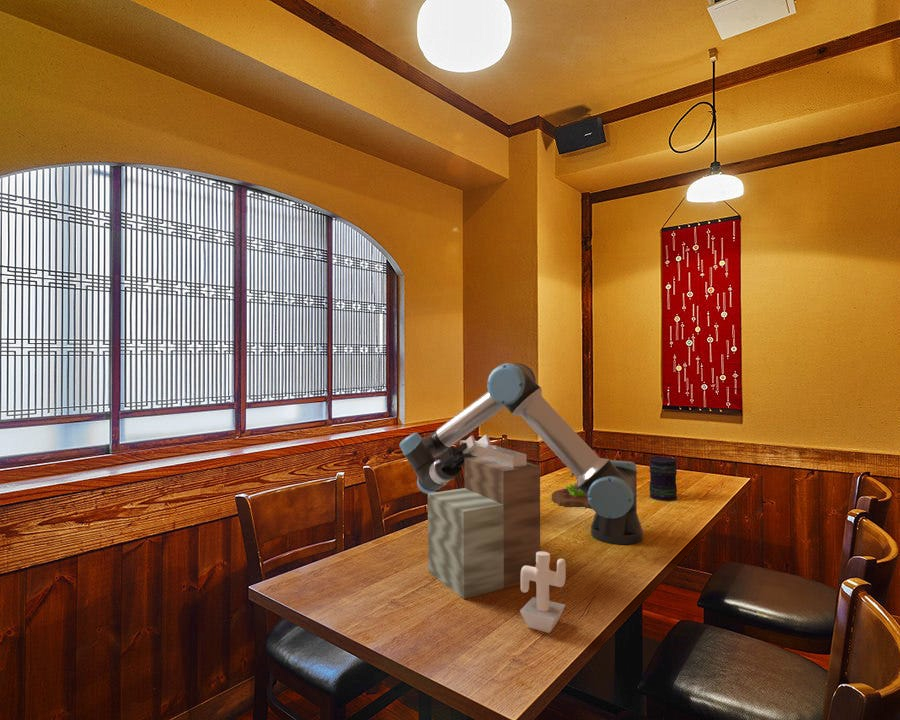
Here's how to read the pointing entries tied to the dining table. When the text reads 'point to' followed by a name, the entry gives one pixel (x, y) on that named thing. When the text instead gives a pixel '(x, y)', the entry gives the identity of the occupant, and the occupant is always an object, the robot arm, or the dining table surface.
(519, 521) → the two-step stand
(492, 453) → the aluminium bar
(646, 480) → the dining table surface
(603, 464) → the robot arm
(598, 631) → the dining table surface
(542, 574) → the figurine
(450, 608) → the dining table surface
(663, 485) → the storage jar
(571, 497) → the plant
